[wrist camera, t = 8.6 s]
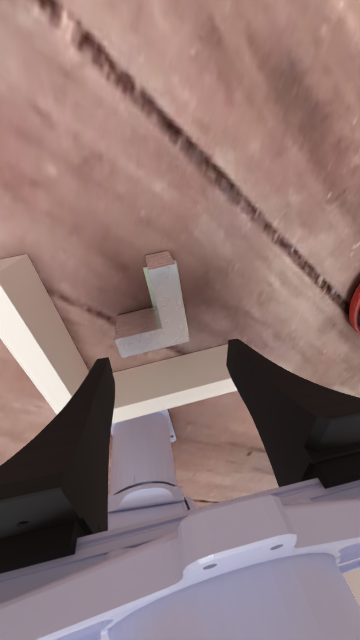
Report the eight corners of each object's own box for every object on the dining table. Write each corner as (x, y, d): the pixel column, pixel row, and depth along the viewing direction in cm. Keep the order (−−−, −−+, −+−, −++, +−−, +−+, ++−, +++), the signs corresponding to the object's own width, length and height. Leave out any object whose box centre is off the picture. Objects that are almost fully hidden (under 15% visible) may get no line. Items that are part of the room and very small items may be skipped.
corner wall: (229, 356, 27) (247, 387, 23) (81, 394, 26) (71, 434, 22) (222, 214, 19) (248, 222, 14) (0, 259, 17) (-41, 282, 13)
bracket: (98, 265, 19) (91, 283, 15) (167, 250, 19) (175, 264, 16) (123, 332, 22) (121, 358, 19) (180, 318, 23) (189, 341, 20)
